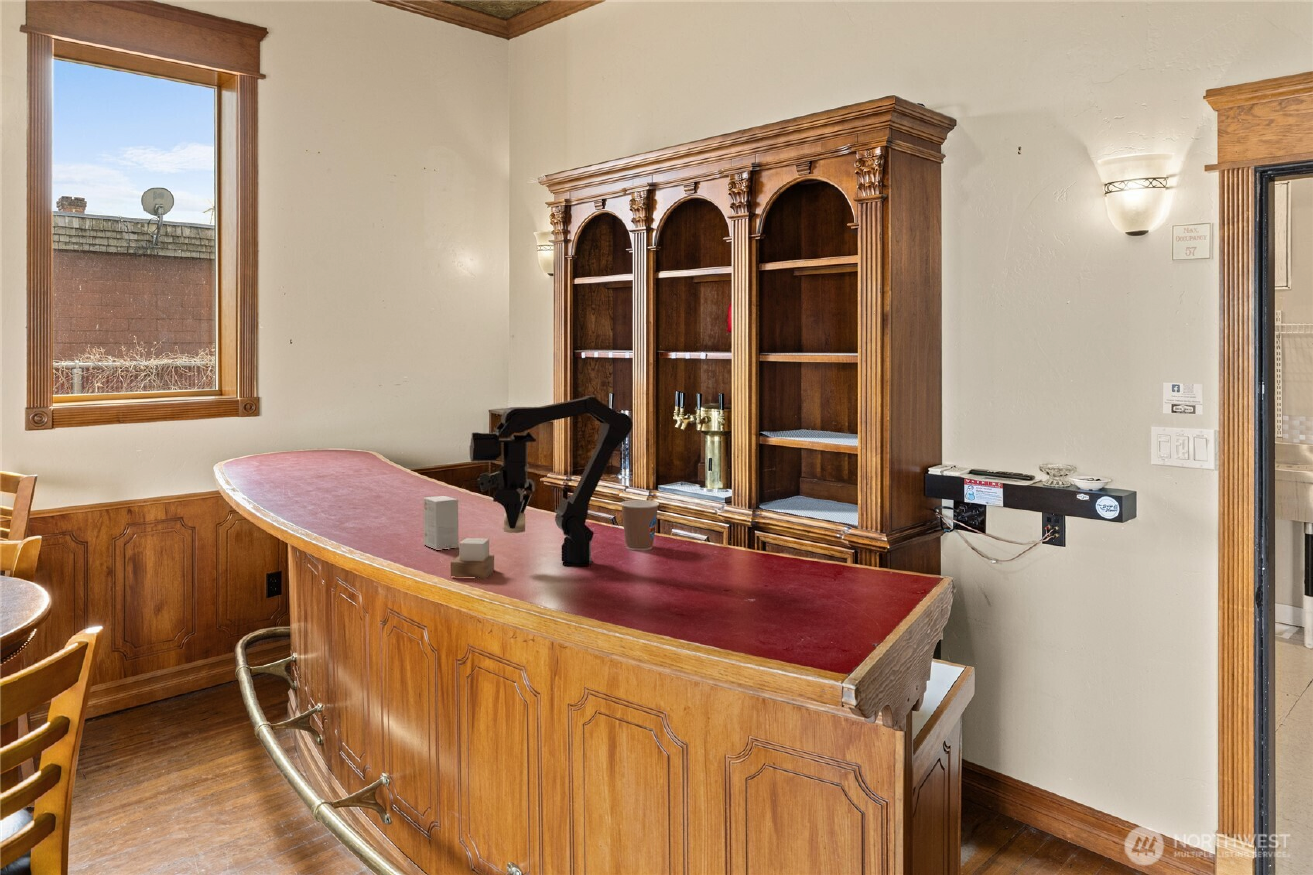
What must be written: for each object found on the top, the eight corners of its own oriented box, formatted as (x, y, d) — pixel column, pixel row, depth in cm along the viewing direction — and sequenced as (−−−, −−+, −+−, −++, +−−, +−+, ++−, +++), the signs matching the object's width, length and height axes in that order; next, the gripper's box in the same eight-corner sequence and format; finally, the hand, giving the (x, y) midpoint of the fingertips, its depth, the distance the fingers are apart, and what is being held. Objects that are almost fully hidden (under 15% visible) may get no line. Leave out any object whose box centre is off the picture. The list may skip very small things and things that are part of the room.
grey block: (489, 555, 195) (489, 538, 195) (483, 561, 190) (483, 543, 190) (466, 554, 196) (465, 538, 195) (459, 560, 190) (459, 543, 190)
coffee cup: (658, 552, 217) (658, 506, 216) (618, 551, 217) (619, 506, 216) (658, 543, 227) (659, 500, 226) (621, 543, 228) (621, 499, 227)
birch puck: (527, 529, 200) (527, 512, 200) (522, 533, 195) (522, 516, 195) (506, 528, 200) (506, 512, 200) (501, 532, 195) (501, 515, 195)
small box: (459, 548, 218) (458, 499, 217) (436, 551, 214) (435, 501, 213) (445, 542, 225) (445, 495, 224) (423, 546, 221) (422, 497, 220)
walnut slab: (494, 571, 196) (494, 554, 196) (485, 580, 188) (485, 563, 188) (460, 570, 197) (460, 554, 196) (450, 579, 189) (450, 562, 188)
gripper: (490, 455, 206) (490, 518, 207) (470, 464, 187) (470, 533, 189) (535, 456, 206) (534, 519, 207) (519, 466, 187) (519, 534, 188)
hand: (514, 526), depth 198 cm, fingers closed on birch puck, 5 cm apart
